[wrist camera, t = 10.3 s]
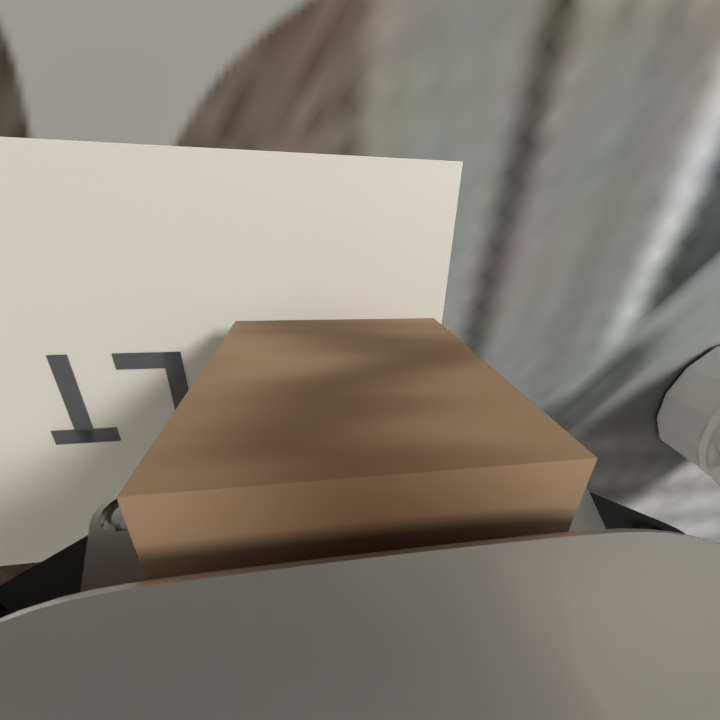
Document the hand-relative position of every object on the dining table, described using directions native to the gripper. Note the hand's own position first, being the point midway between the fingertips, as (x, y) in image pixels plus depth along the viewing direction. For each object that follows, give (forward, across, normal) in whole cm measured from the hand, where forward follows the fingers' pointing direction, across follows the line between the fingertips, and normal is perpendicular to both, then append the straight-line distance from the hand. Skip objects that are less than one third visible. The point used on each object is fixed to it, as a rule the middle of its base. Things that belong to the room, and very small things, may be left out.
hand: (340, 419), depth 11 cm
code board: (+3, +8, 0) cm, 8 cm away
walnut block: (+1, 0, 0) cm, 1 cm away
